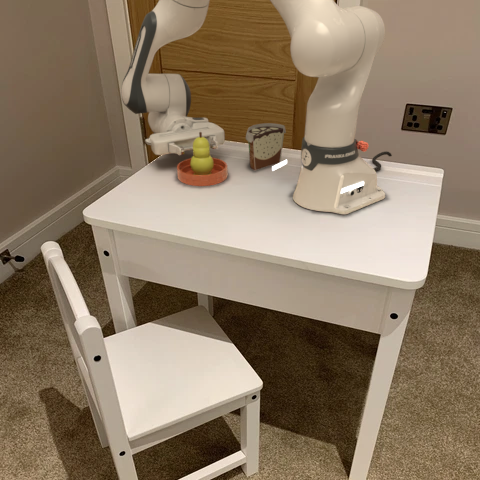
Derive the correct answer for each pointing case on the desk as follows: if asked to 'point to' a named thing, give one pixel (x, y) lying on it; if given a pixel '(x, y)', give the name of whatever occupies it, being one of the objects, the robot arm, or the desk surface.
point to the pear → (201, 157)
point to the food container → (265, 144)
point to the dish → (216, 176)
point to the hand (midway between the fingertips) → (199, 148)
